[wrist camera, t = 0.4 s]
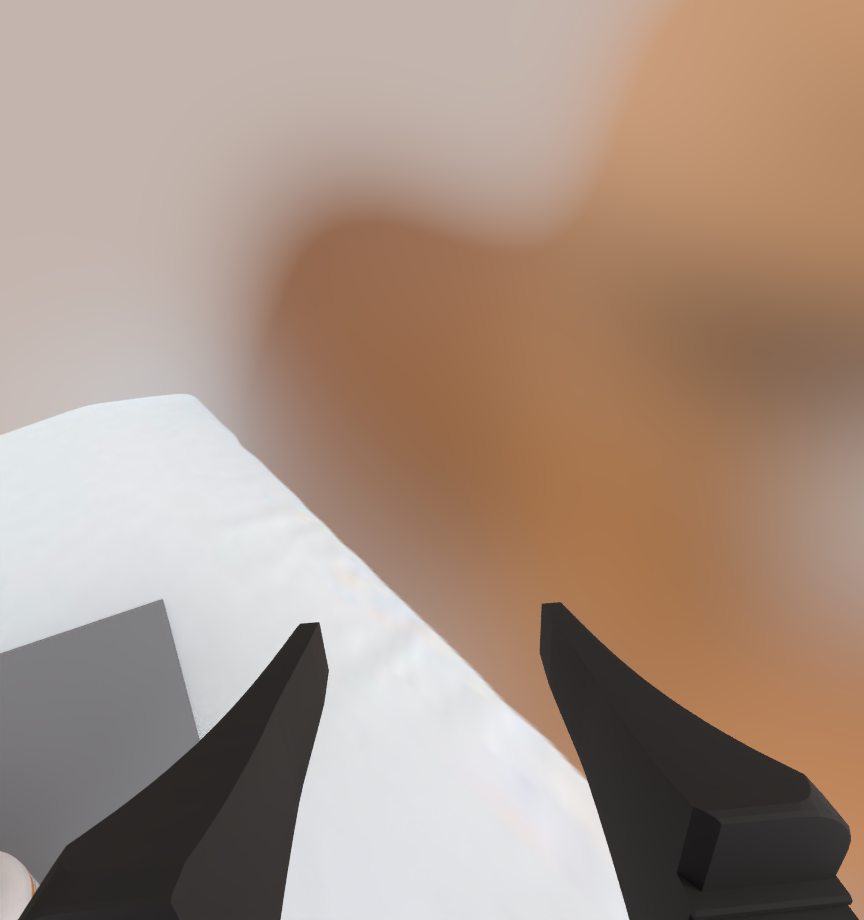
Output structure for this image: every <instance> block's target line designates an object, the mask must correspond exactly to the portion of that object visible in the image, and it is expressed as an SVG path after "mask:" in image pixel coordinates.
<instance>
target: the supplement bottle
mask: <svg viewBox="0 0 864 920" xmlns="http://www.w3.org/2000/svg"><path fill="white" fill-rule="evenodd" d="M39 886H40V885H39V883H38V882H37V881H36V880H35V879H34V877H33V876H32V875H31V874H30V873H29V871H28V870H27V869H26V867H25V866H24V865H23V864H22V863H21V862H20V861H18V860H17V859H16V858H15V857H13V856H11V855H9V854H8V853H5V852H2V851H0V920H18V919H19V917H20V916H21V914H22V912H23V911H24V909H25V908H26V906H27V905H28V903H29V901H30V900H31V898H32V897H33V895H34V894H35V892H36V890H37V889H38V887H39Z"/></svg>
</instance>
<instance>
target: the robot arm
mask: <svg viewBox="0 0 864 920" xmlns="http://www.w3.org/2000/svg"><path fill="white" fill-rule="evenodd" d="M540 655H541V659H542V662H543V666H544V669H545V673H546V676H547V680H548V683H549V686H550V688H551V691H552V693H553V696H554V698H555V700H556V703H557V705H558V708H559V710H560V713H561V715H562V717H563V720H564V722H565V725H566V727H567V729H568V732H569V734H570V736H571V739H572V741H573V744H574V746H575V748H576V751H577V753H578V756H579V758H580V761H581V764H582V766H583V769H584V771H585V774H586V777H587V780H588V783H589V786H590V790H591V793H592V796H593V799H594V802H595V805H596V808H597V811H598V814H599V818H600V821H601V824H602V828H603V831H604V834H605V837H606V841H607V844H608V847H609V850H610V854H611V857H612V860H613V864H614V867H615V871H616V874H617V878H618V881H619V885H620V888H621V891H622V895H623V898H624V902H625V905H626V909H627V912H628V916H629V920H859V919H858V918H857V917H856V915H855V914H854V912H853V911H852V910H851V908H850V907H849V906H848V905H851V903H852V898H851V896H850V894H849V892H848V891H847V890H846V888H845V887H844V886H843V884H842V883H841V882H840V880H839V879H838V878H837V876H836V874H837V872H838V870H839V868H840V866H841V864H842V862H843V859H844V857H845V855H846V853H847V851H848V849H849V845H850V842H851V835H850V829H849V826H848V824H847V823H846V822H845V821H844V820H843V818H842V817H841V816H840V815H839V814H838V812H837V811H836V810H835V809H834V807H833V806H832V805H831V804H830V803H829V801H828V800H827V799H826V798H825V797H824V795H823V794H822V793H821V792H820V791H819V790H818V789H817V788H816V787H815V785H814V784H813V783H812V782H811V781H810V780H809V779H808V778H807V777H806V776H805V775H804V774H802V773H800V772H798V771H796V770H794V769H792V768H790V767H788V766H786V765H784V764H782V763H780V762H778V761H776V760H774V759H772V758H770V757H768V756H766V755H764V754H762V753H760V752H758V751H756V750H754V749H752V748H750V747H749V746H747V745H745V744H743V743H742V742H740V741H738V740H736V739H734V738H733V737H731V736H729V735H727V734H725V733H724V732H722V731H720V730H719V729H717V728H715V727H713V726H712V725H710V724H709V723H707V722H705V721H703V720H702V719H701V718H699V717H697V716H696V715H694V714H692V713H691V712H689V711H688V710H686V709H685V708H683V707H682V706H680V705H679V704H677V703H676V702H674V701H673V700H672V699H670V698H669V697H667V696H666V695H665V694H663V693H662V692H660V691H659V690H658V689H656V688H655V687H653V686H652V685H651V684H650V683H648V682H647V681H646V680H644V679H643V678H642V677H640V676H639V675H638V674H637V673H636V672H634V671H633V670H632V669H631V668H630V667H628V666H627V665H626V664H625V663H624V662H622V661H621V660H620V659H619V658H618V657H617V656H616V655H615V654H613V653H612V652H611V651H610V650H609V649H608V648H607V647H606V646H605V645H604V644H602V643H601V642H600V641H599V640H598V639H597V638H596V637H595V636H594V635H593V634H592V633H591V632H590V631H589V630H588V629H587V628H586V627H585V626H584V625H583V624H582V623H581V622H580V621H579V620H578V619H577V618H576V617H575V616H574V615H573V614H572V613H571V612H570V611H569V610H568V609H567V608H566V607H565V606H564V605H563V604H562V603H560V602H559V603H546V604H542V612H541V636H540ZM328 673H329V669H328V664H327V659H326V654H325V649H324V644H323V639H322V633H321V628H320V623H319V622H316V623H304V624H300V625H299V626H298V627H297V628H296V629H295V631H294V632H293V633H292V635H291V636H290V637H289V639H288V640H287V642H286V643H285V644H284V646H283V647H282V648H281V649H280V651H279V652H278V653H277V655H276V656H275V657H274V659H273V660H272V661H271V662H270V664H269V665H268V666H267V667H266V669H265V670H264V671H263V672H262V674H261V675H260V676H259V677H258V679H257V680H256V681H255V682H254V683H253V685H252V686H251V687H250V688H249V689H248V690H247V692H246V693H245V694H244V695H243V696H242V697H241V698H240V700H239V701H238V702H237V703H236V704H235V705H234V706H233V707H232V709H231V710H230V711H229V712H228V713H227V714H226V715H225V716H224V717H223V718H222V719H221V720H220V721H219V722H218V723H217V724H216V725H215V726H214V727H213V728H212V729H211V730H210V731H209V732H208V733H207V734H206V735H205V736H204V737H203V738H202V739H201V740H200V741H199V742H198V743H197V744H196V745H195V746H194V747H192V748H191V749H190V750H189V751H188V752H187V753H186V754H185V755H183V756H182V757H181V758H180V759H179V760H178V761H177V762H176V763H174V764H173V765H172V766H171V767H170V768H169V769H168V770H167V771H165V772H164V773H163V774H162V775H161V776H159V777H158V778H157V779H156V780H154V781H153V782H152V783H151V784H150V785H148V786H147V787H146V788H145V789H143V790H142V791H141V792H139V793H138V794H137V795H136V796H134V797H133V798H132V799H130V800H129V801H128V802H127V803H125V804H124V805H123V806H121V807H120V808H119V809H117V810H116V811H115V812H113V813H112V814H110V815H109V816H108V817H106V818H105V819H103V820H102V821H101V822H99V823H98V824H96V825H95V826H94V827H92V828H91V829H89V830H88V831H87V832H85V833H84V834H82V835H81V836H80V837H78V838H77V839H75V840H74V841H72V842H71V843H69V844H68V845H66V847H65V848H64V850H63V851H62V853H61V854H60V855H59V857H58V858H57V860H56V861H55V863H54V864H53V866H52V867H51V868H50V870H49V872H48V873H47V875H46V876H45V878H44V879H43V881H42V883H41V884H40V886H39V887H38V889H37V890H36V892H35V894H34V895H33V897H32V898H31V900H30V901H29V903H28V905H27V906H26V908H25V909H24V911H23V912H22V914H21V916H20V917H19V919H18V920H280V919H281V912H282V905H283V898H284V891H285V885H286V878H287V872H288V866H289V860H290V853H291V847H292V841H293V835H294V829H295V824H296V818H297V812H298V806H299V801H300V797H301V792H302V788H303V783H304V780H305V776H306V772H307V768H308V764H309V760H310V757H311V753H312V749H313V745H314V741H315V738H316V734H317V730H318V726H319V722H320V718H321V714H322V710H323V706H324V701H325V694H326V688H327V680H328Z"/></svg>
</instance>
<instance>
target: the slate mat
mask: <svg viewBox="0 0 864 920" xmlns="http://www.w3.org/2000/svg"><path fill="white" fill-rule="evenodd" d="M199 741H200V740H199V736H198V733H197V729H196V725H195V721H194V717H193V713H192V709H191V706H190V702H189V698H188V694H187V690H186V686H185V683H184V679H183V675H182V671H181V667H180V663H179V659H178V656H177V652H176V648H175V644H174V640H173V636H172V633H171V629H170V625H169V621H168V617H167V613H166V610H165V606H164V602H163V599H162V600H159V601H156V602H153V603H150V604H147V605H144V606H141V607H138V608H135V609H132V610H129V611H126V612H123V613H120V614H117V615H114V616H111V617H108V618H105V619H102V620H99V621H96V622H93V623H90V624H87V625H84V626H81V627H79V628H76V629H73V630H70V631H67V632H64V633H61V634H58V635H55V636H52V637H49V638H46V639H43V640H40V641H37V642H34V643H31V644H28V645H25V646H22V647H19V648H16V649H13V650H10V651H7V652H4V653H1V654H0V851H2V852H5V853H8V854H9V855H11V856H13V857H15V858H16V859H17V860H18V861H20V862H21V863H22V864H23V865H24V866H25V867H26V869H27V870H28V871H29V873H30V874H31V875H32V876H33V877H34V879H35V880H36V881H37V882H38V883H39V885H40V884H41V883H42V881H43V879H44V878H45V876H46V875H47V873H48V872H49V870H50V868H51V867H52V866H53V864H54V863H55V861H56V860H57V858H58V857H59V855H60V854H61V853H62V851H63V850H64V848H65V847H66V845H68V844H69V843H71V842H72V841H74V840H75V839H77V838H78V837H80V836H81V835H82V834H84V833H85V832H87V831H88V830H89V829H91V828H92V827H94V826H95V825H96V824H98V823H99V822H101V821H102V820H103V819H105V818H106V817H108V816H109V815H110V814H112V813H113V812H115V811H116V810H117V809H119V808H120V807H121V806H123V805H124V804H125V803H127V802H128V801H129V800H130V799H132V798H133V797H134V796H136V795H137V794H138V793H139V792H141V791H142V790H143V789H145V788H146V787H147V786H148V785H150V784H151V783H152V782H153V781H154V780H156V779H157V778H158V777H159V776H161V775H162V774H163V773H164V772H165V771H167V770H168V769H169V768H170V767H171V766H172V765H173V764H174V763H176V762H177V761H178V760H179V759H180V758H181V757H182V756H183V755H185V754H186V753H187V752H188V751H189V750H190V749H191V748H192V747H194V746H195V745H196V744H197V743H198V742H199Z"/></svg>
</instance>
